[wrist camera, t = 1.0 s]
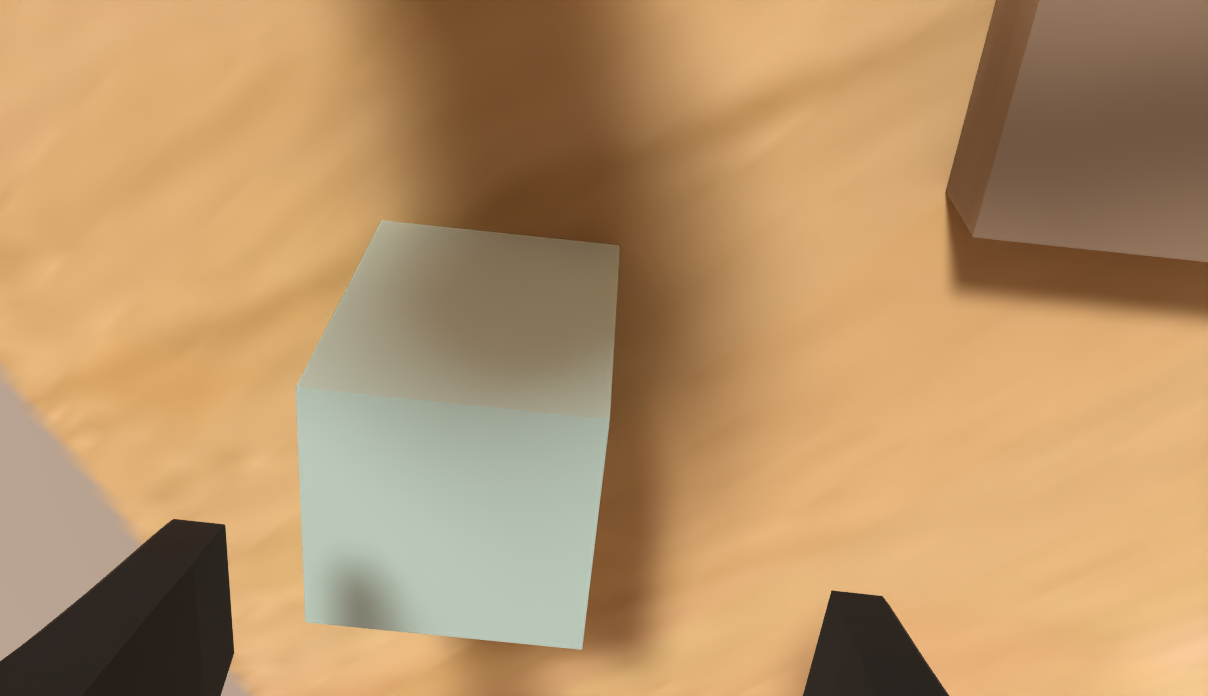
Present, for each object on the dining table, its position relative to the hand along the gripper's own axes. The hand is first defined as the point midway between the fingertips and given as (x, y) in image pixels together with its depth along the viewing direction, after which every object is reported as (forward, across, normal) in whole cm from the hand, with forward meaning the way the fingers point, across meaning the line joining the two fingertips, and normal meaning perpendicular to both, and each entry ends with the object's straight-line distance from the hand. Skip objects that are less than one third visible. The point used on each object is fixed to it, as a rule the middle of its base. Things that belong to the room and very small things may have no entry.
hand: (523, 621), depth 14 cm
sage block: (+10, +1, +2) cm, 10 cm away
